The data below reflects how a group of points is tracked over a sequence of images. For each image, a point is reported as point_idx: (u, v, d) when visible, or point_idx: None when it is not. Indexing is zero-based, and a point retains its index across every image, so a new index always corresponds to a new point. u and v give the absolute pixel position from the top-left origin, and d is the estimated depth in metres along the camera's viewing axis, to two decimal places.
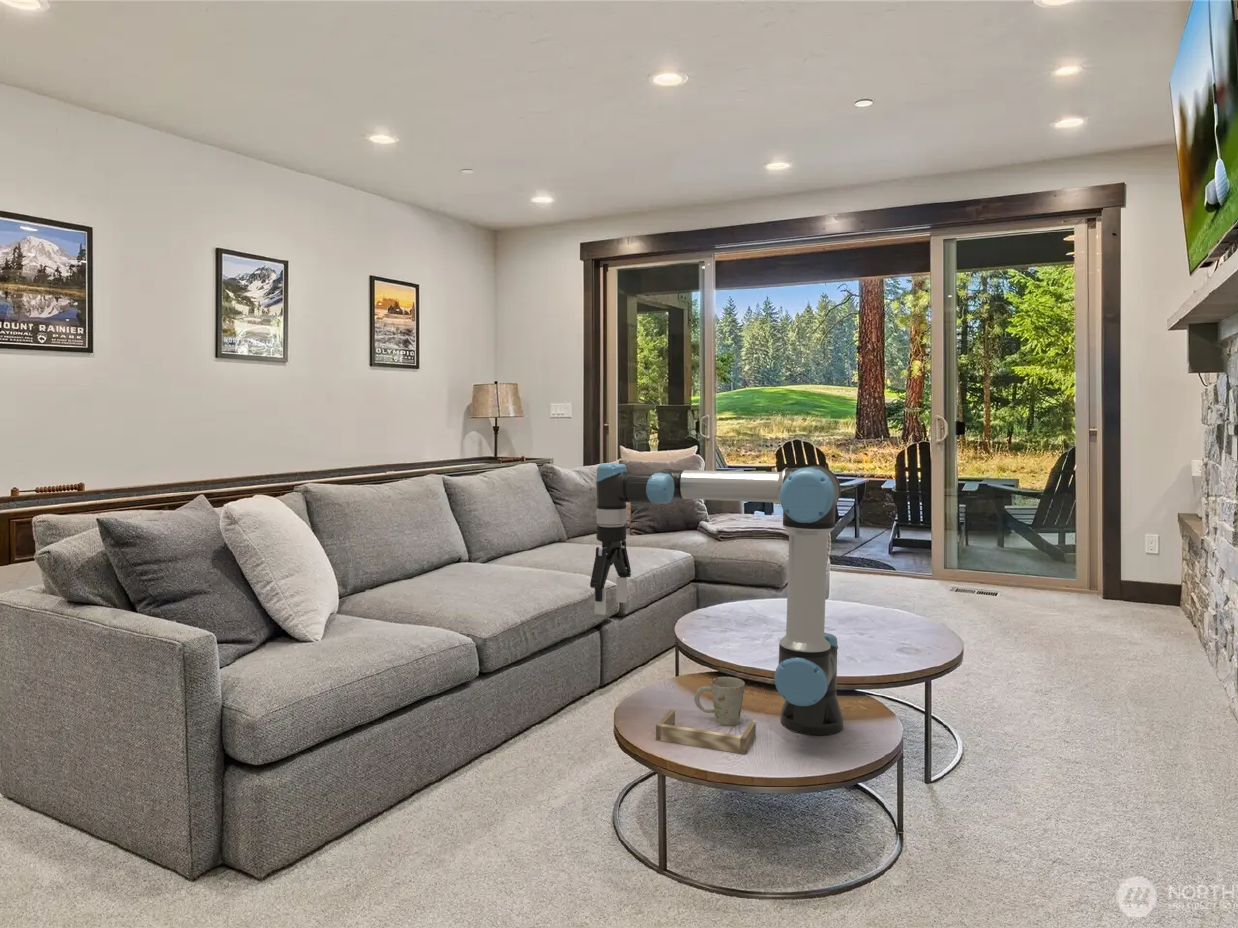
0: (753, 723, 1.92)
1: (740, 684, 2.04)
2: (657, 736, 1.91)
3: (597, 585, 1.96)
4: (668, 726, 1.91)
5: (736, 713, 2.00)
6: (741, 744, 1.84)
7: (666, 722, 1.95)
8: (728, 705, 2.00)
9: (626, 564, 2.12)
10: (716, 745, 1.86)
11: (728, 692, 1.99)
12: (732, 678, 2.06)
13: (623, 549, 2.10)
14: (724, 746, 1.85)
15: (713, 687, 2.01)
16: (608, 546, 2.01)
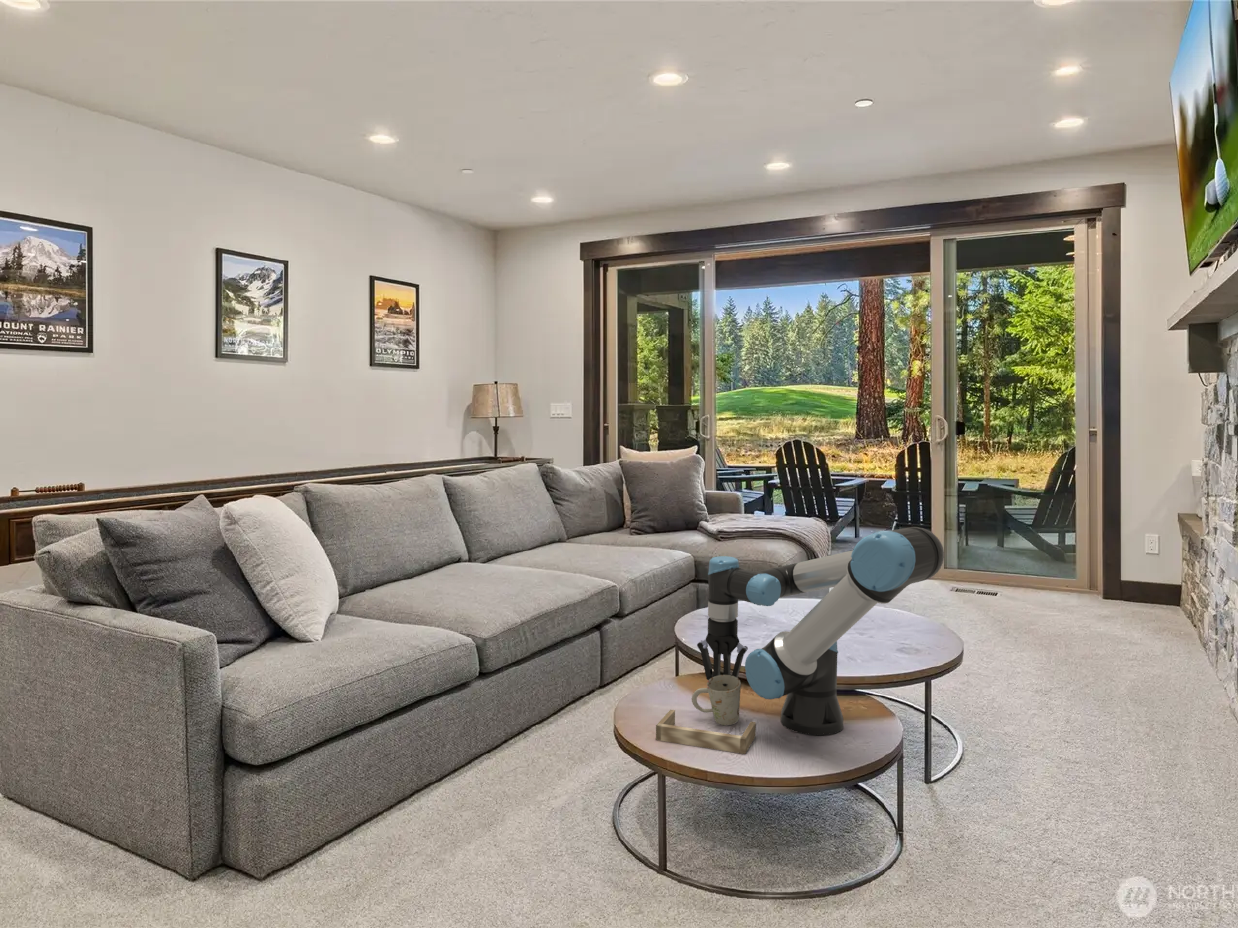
0: (753, 723, 1.92)
1: (736, 682, 2.03)
2: (657, 736, 1.91)
3: None
4: (668, 726, 1.91)
5: (735, 713, 2.00)
6: (741, 744, 1.84)
7: (666, 722, 1.95)
8: (726, 707, 1.98)
9: (733, 671, 2.05)
10: (716, 745, 1.86)
11: (724, 695, 1.97)
12: (728, 676, 2.04)
13: (738, 654, 2.04)
14: (724, 746, 1.85)
15: (709, 690, 2.00)
16: None
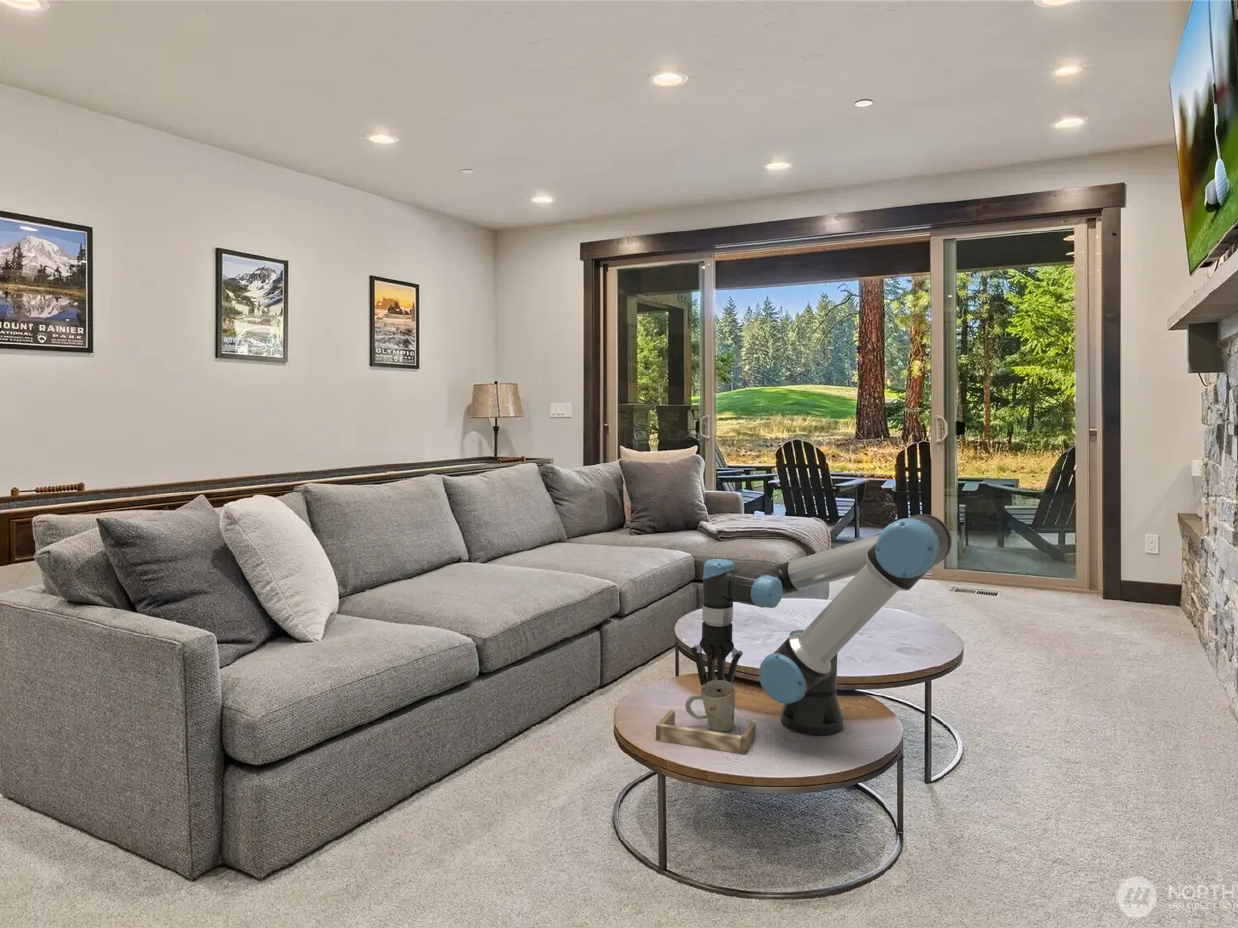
0: (753, 723, 1.92)
1: (730, 687, 1.98)
2: (657, 736, 1.91)
3: None
4: (668, 726, 1.91)
5: (729, 719, 1.96)
6: (741, 744, 1.84)
7: (666, 722, 1.95)
8: (720, 714, 1.94)
9: (727, 676, 2.00)
10: (716, 745, 1.86)
11: (719, 702, 1.93)
12: (721, 681, 2.00)
13: (732, 659, 1.99)
14: (724, 746, 1.85)
15: (703, 697, 1.95)
16: None
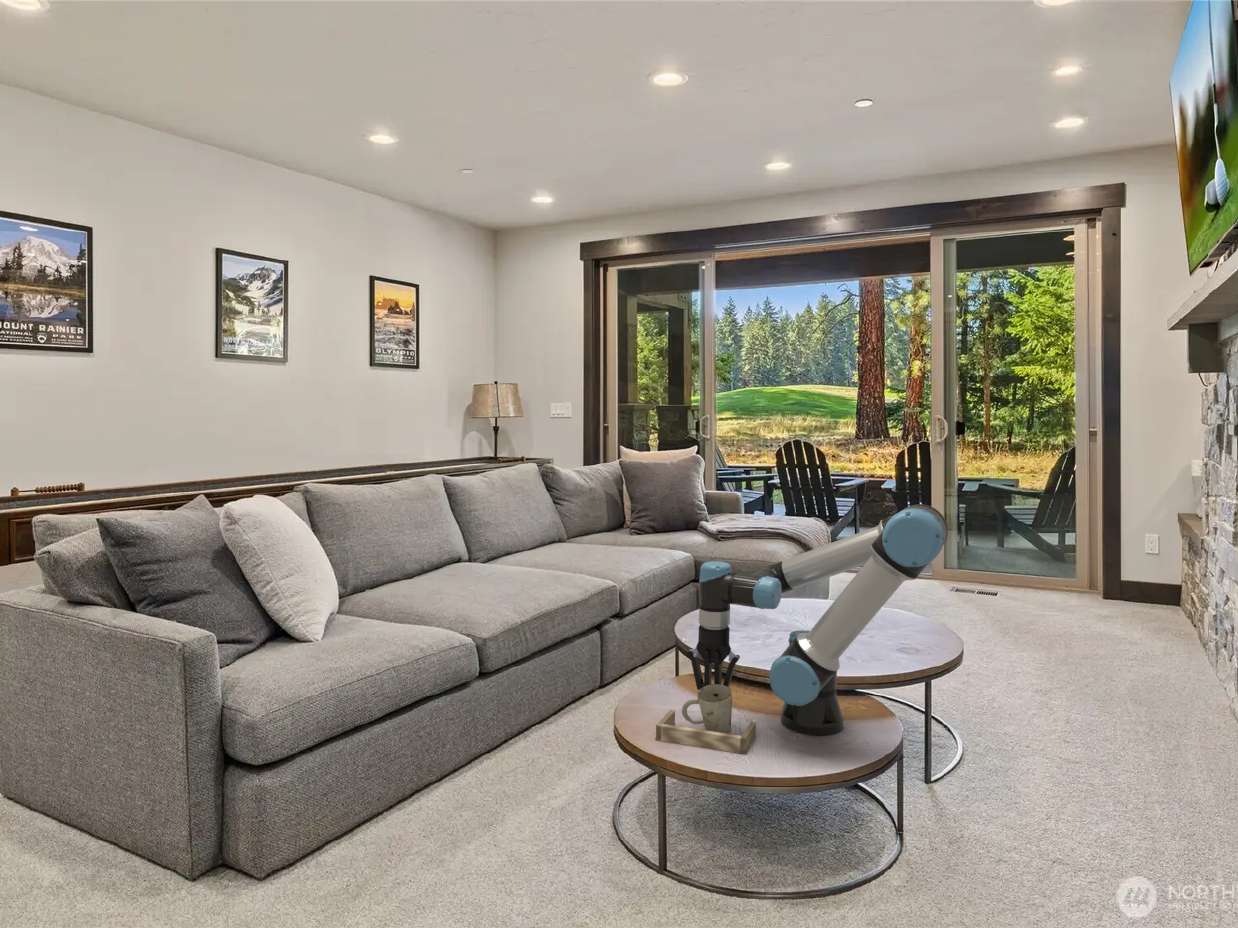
0: (753, 723, 1.92)
1: (727, 692, 1.95)
2: (657, 736, 1.91)
3: None
4: (668, 726, 1.91)
5: (727, 724, 1.93)
6: (741, 744, 1.84)
7: (666, 722, 1.95)
8: (718, 718, 1.91)
9: (724, 680, 1.97)
10: (716, 745, 1.86)
11: (716, 707, 1.90)
12: (718, 685, 1.97)
13: (729, 663, 1.96)
14: (724, 746, 1.85)
15: (700, 702, 1.92)
16: (696, 646, 1.99)
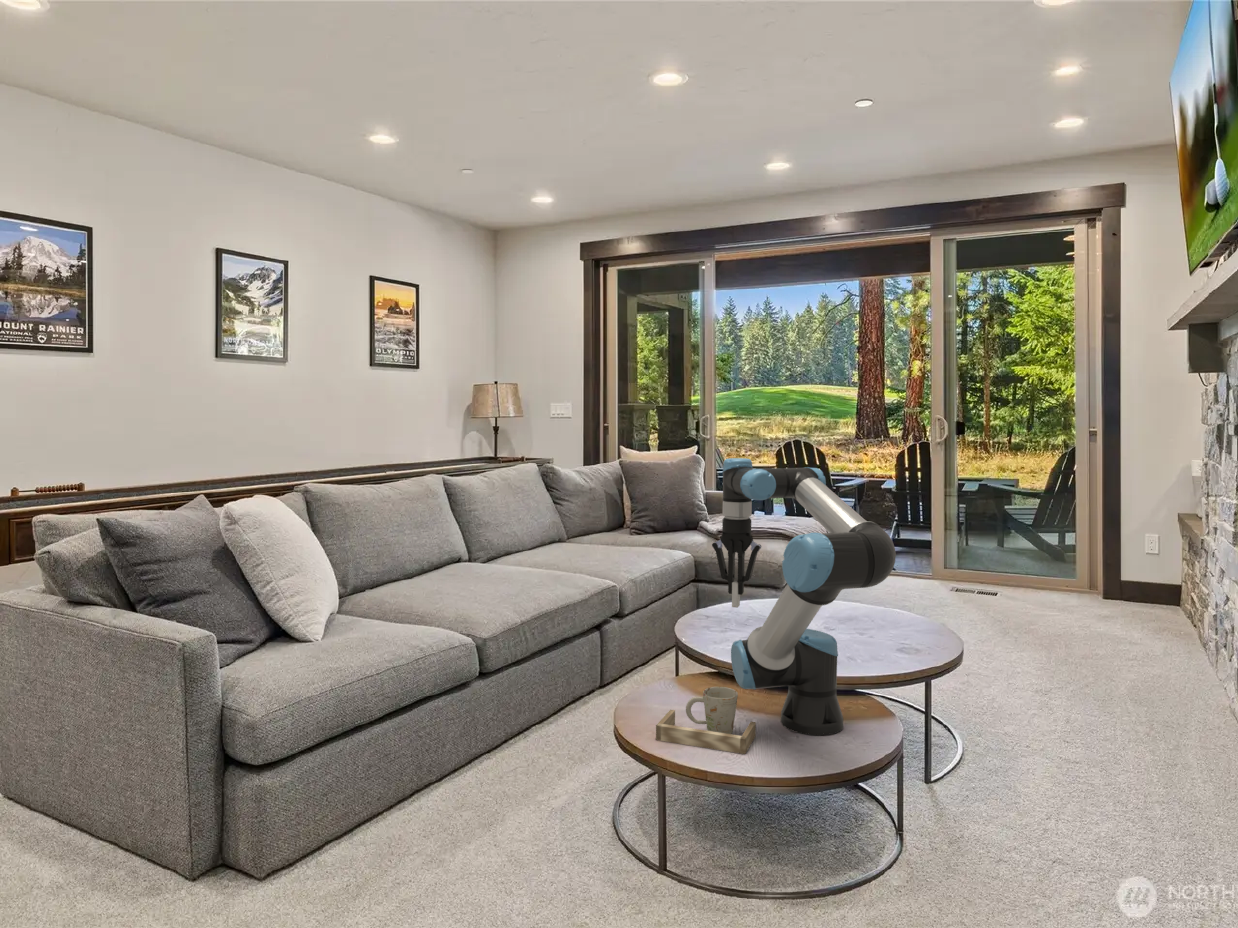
0: (753, 723, 1.92)
1: (733, 694, 1.97)
2: (657, 736, 1.91)
3: None
4: (668, 726, 1.91)
5: (729, 725, 1.93)
6: (741, 744, 1.84)
7: (666, 722, 1.95)
8: (720, 716, 1.92)
9: (747, 568, 2.11)
10: (716, 745, 1.86)
11: (720, 703, 1.91)
12: (725, 688, 1.99)
13: (752, 551, 2.10)
14: (724, 746, 1.85)
15: (705, 698, 1.94)
16: None
